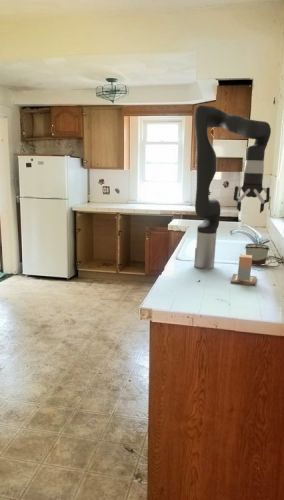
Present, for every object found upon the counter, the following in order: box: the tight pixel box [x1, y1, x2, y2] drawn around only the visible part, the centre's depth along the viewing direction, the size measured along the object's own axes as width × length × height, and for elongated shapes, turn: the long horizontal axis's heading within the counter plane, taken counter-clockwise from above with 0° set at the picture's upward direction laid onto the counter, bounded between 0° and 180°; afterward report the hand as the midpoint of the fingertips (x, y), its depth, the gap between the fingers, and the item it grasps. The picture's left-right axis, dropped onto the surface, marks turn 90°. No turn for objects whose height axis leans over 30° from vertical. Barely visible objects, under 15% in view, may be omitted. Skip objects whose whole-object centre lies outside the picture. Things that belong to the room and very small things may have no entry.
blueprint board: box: [230, 273, 257, 287], centre depth 163 cm, size 10×12×1 cm
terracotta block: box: [238, 253, 253, 270], centre depth 161 cm, size 5×5×5 cm
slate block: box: [237, 267, 252, 281], centre depth 162 cm, size 5×5×5 cm
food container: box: [244, 243, 271, 265], centre depth 193 cm, size 12×6×10 cm, turn 84°
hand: (250, 211), depth 156 cm, fingers open, 8 cm apart
